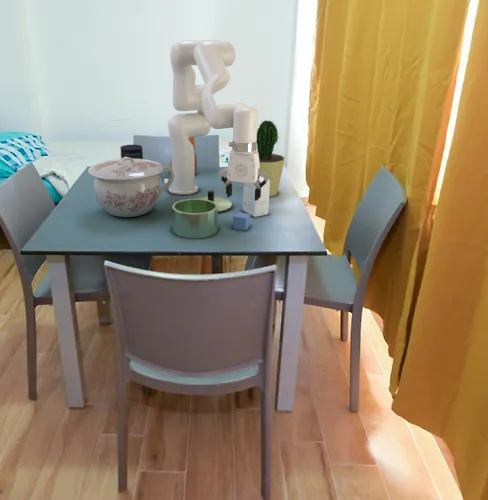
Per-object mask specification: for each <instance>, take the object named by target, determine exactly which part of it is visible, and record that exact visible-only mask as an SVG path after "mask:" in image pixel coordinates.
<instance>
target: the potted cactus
mask: <svg viewBox="0 0 488 500" xmlns="http://www.w3.org/2000/svg"><path fill="white" fill-rule="evenodd" d="M279 135H280V133H279V131H278V128H277V125H276V124H275V123H274V121H272V120H270V119H269V120H267V119H265V120H261V123H258V127H257V144H256V151H258V154H259V162H260V170H262V171H263V172H265V173H266V174H268V175H269V176H270V178H269V179H268V180H270V191H269V198H270V197H274V196H276V195H277V194H278V192H279V186H280V182H281V178H282V173H283V169H284V164H285V158H286V157H285V156H283V155H282V154H277V153H274V151H276V150H275V145H276V144H279V142H278V141H280V140H279ZM261 177H262V176H261Z"/></svg>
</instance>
